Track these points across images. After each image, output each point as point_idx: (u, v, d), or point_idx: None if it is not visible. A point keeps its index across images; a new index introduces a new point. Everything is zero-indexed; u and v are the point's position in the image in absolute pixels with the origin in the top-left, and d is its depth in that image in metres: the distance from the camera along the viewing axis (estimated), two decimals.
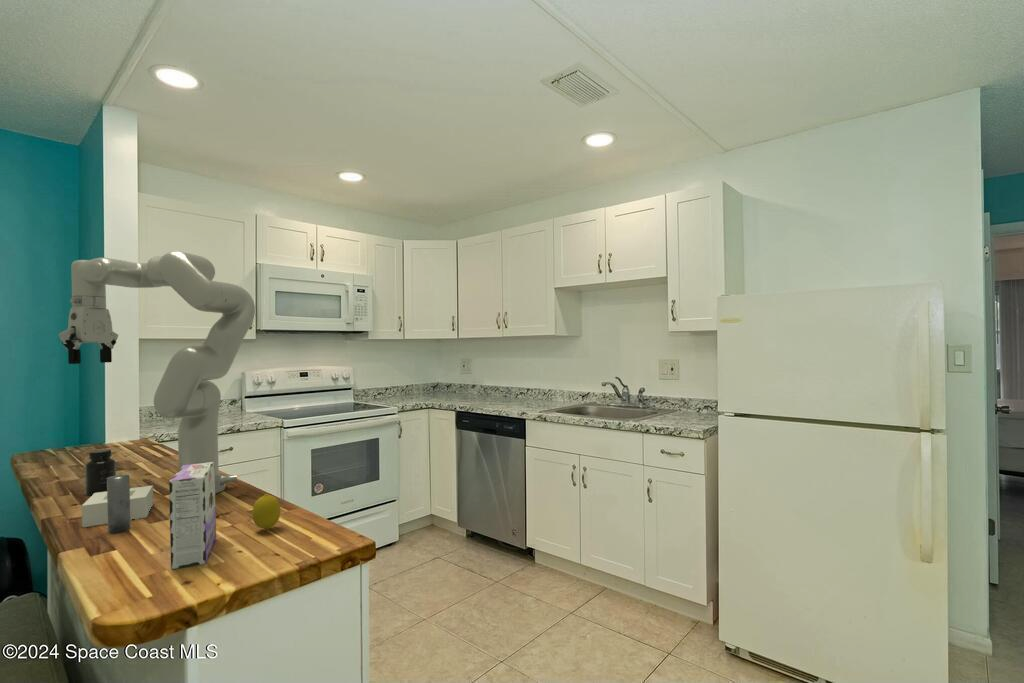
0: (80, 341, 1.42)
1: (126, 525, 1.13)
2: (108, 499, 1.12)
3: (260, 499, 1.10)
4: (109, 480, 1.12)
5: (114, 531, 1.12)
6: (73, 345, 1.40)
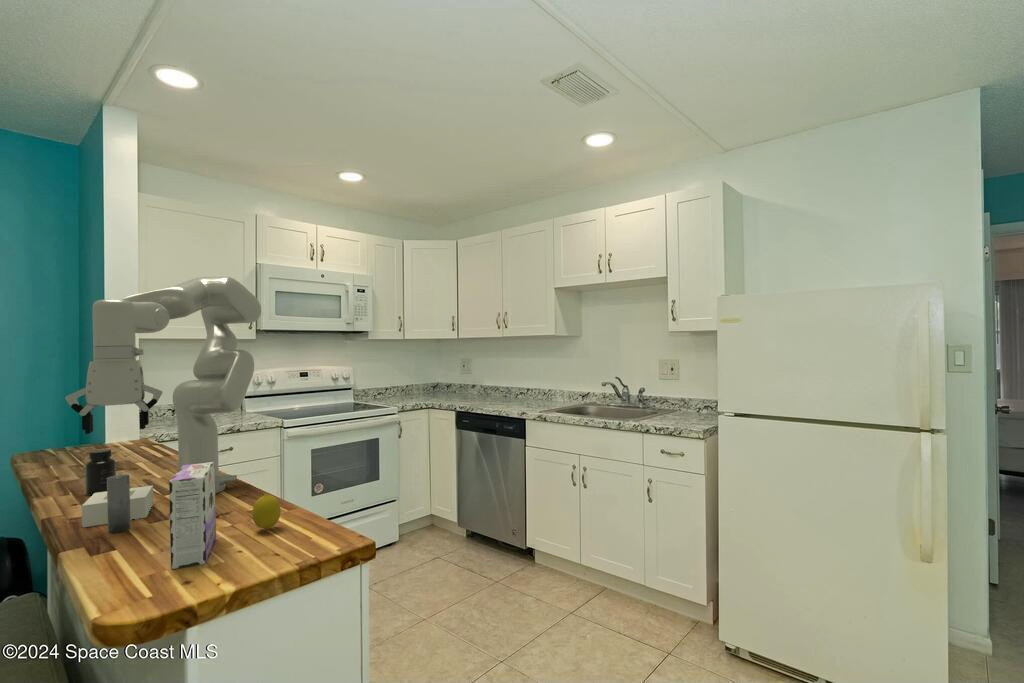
0: None
1: (126, 525, 1.13)
2: (108, 499, 1.12)
3: (260, 499, 1.10)
4: (109, 480, 1.12)
5: (114, 531, 1.12)
6: None
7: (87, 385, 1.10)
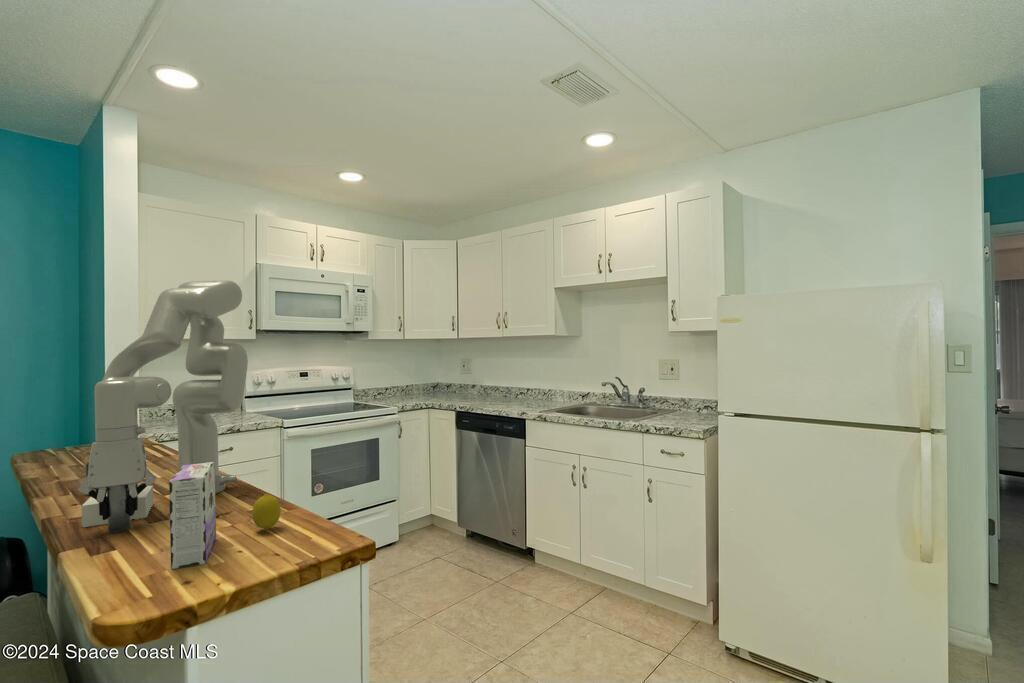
0: None
1: (126, 525, 1.13)
2: (108, 499, 1.12)
3: (260, 499, 1.10)
4: None
5: (114, 531, 1.12)
6: None
7: (89, 468, 1.10)
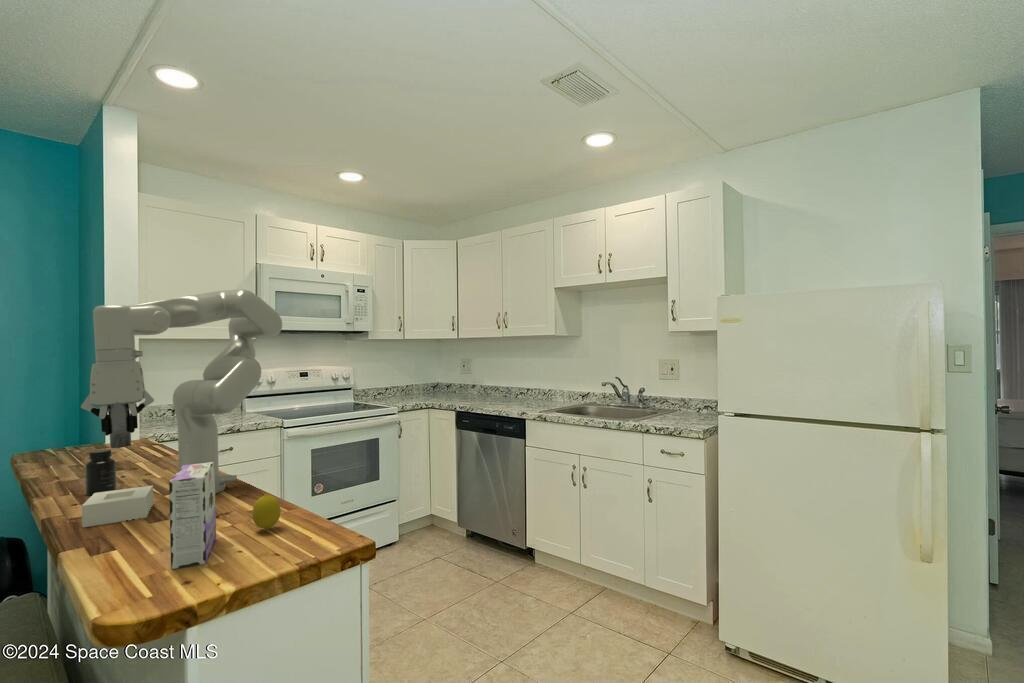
0: None
1: (128, 441, 1.21)
2: (109, 416, 1.19)
3: (260, 499, 1.10)
4: None
5: (116, 446, 1.20)
6: None
7: (91, 386, 1.17)
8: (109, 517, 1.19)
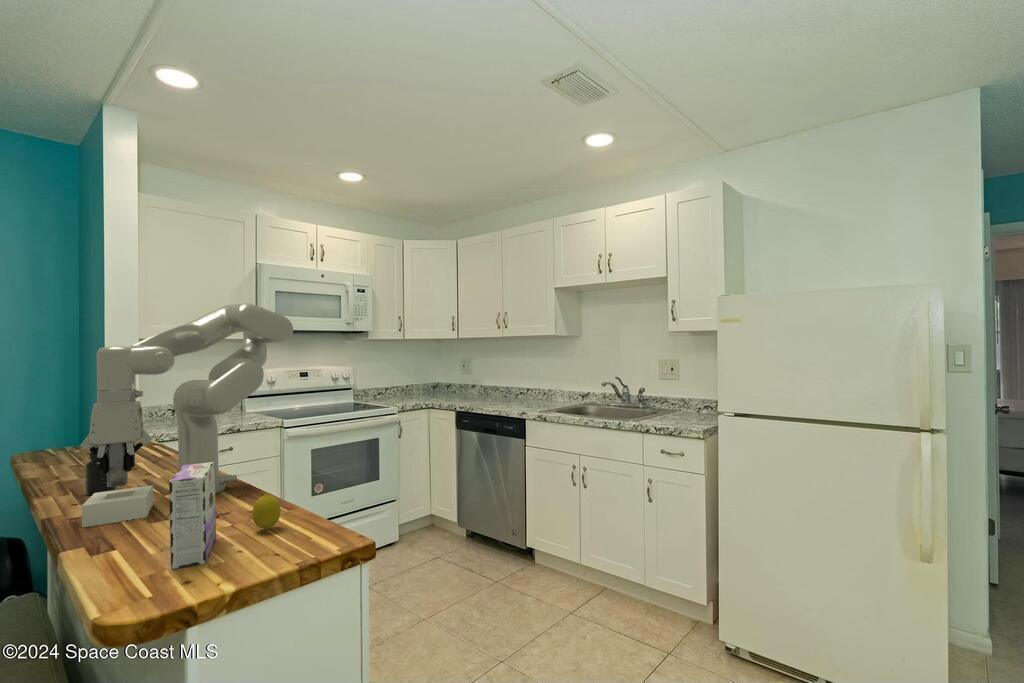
0: None
1: (124, 479, 1.24)
2: (107, 455, 1.22)
3: (260, 499, 1.10)
4: None
5: (112, 485, 1.22)
6: None
7: (91, 426, 1.20)
8: (109, 517, 1.19)
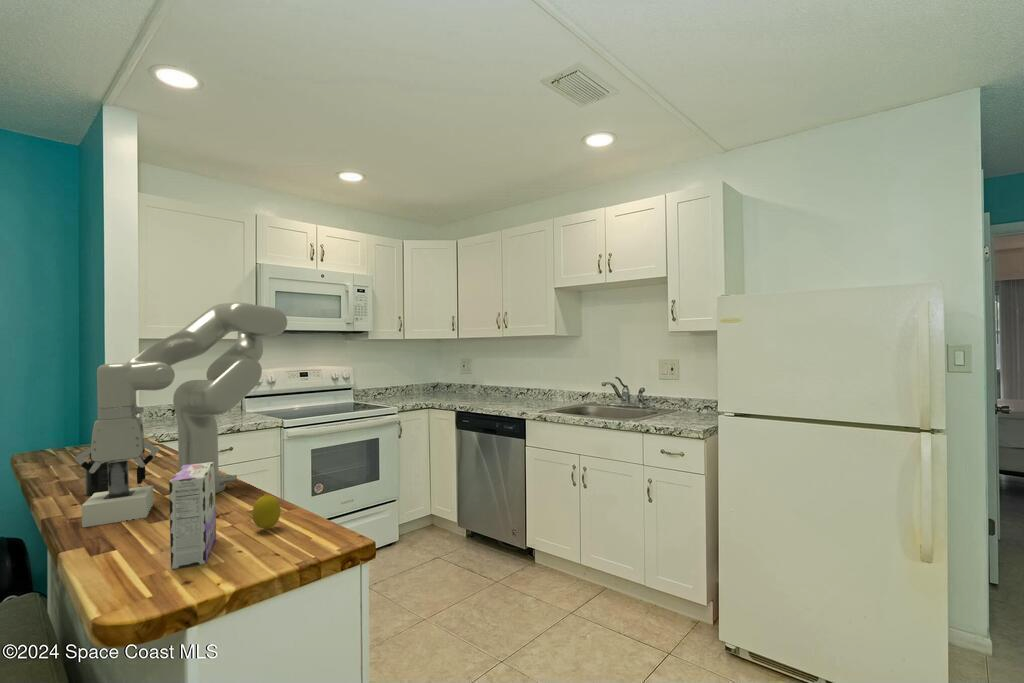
0: None
1: None
2: (109, 482, 1.23)
3: (260, 499, 1.10)
4: (109, 464, 1.23)
5: None
6: None
7: (92, 443, 1.20)
8: (109, 517, 1.19)
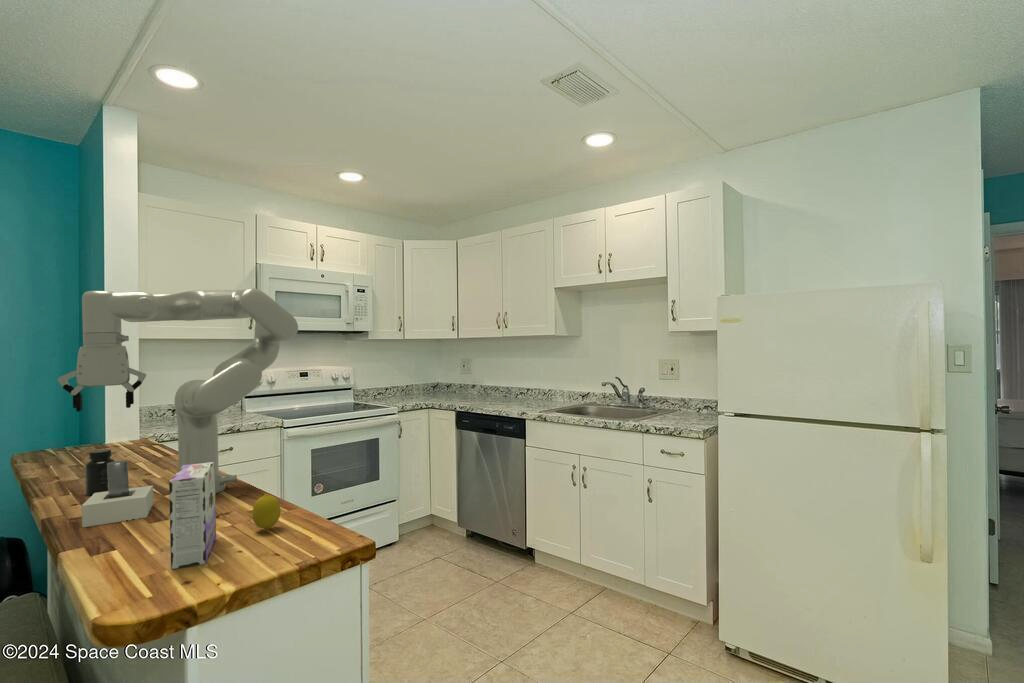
0: None
1: None
2: (109, 483, 1.22)
3: (260, 499, 1.10)
4: (109, 465, 1.22)
5: None
6: None
7: (78, 368, 1.22)
8: (109, 517, 1.19)
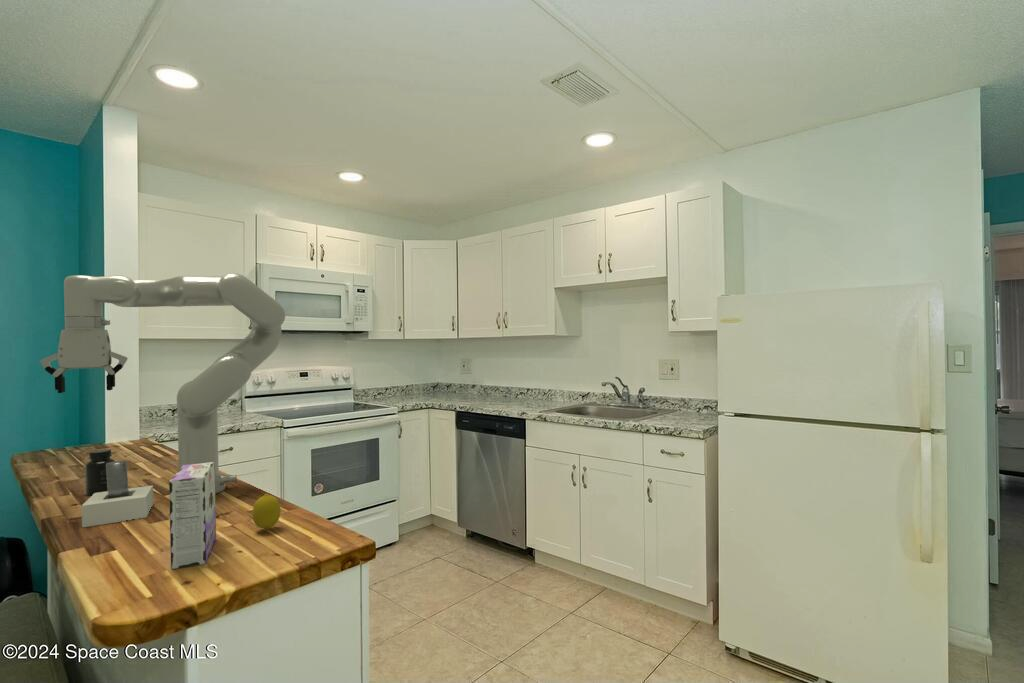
0: None
1: None
2: (108, 483, 1.22)
3: (260, 499, 1.10)
4: (108, 465, 1.22)
5: None
6: None
7: (59, 350, 1.26)
8: (109, 517, 1.19)
